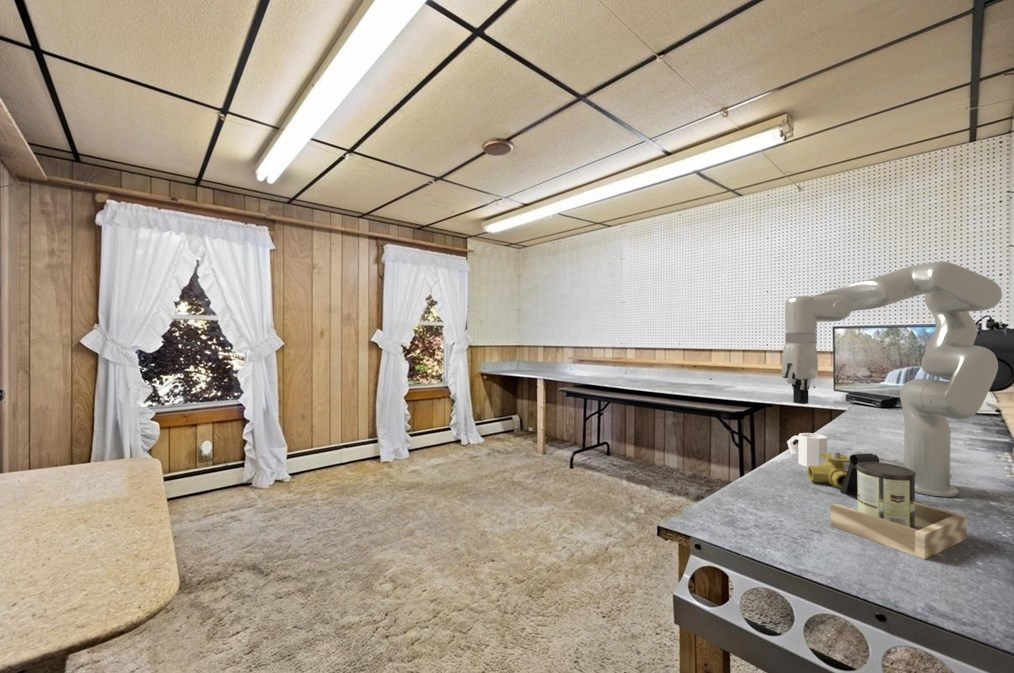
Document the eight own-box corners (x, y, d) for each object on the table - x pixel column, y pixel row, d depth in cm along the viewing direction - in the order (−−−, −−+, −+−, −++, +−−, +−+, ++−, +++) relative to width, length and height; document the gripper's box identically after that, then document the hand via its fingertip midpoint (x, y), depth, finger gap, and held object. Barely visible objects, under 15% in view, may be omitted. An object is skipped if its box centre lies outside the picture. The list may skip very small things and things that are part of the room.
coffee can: (881, 517, 107) (881, 460, 107) (928, 537, 97) (928, 473, 96) (845, 520, 105) (845, 462, 105) (889, 541, 95) (889, 476, 95)
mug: (832, 465, 148) (832, 436, 147) (820, 469, 143) (820, 440, 143) (793, 456, 158) (793, 429, 158) (781, 460, 153) (781, 433, 153)
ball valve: (859, 493, 123) (859, 458, 123) (817, 489, 126) (817, 455, 126) (840, 478, 135) (840, 446, 135) (802, 475, 138) (802, 444, 138)
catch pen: (874, 510, 111) (874, 490, 111) (966, 538, 95) (966, 516, 95) (830, 525, 103) (830, 504, 102) (924, 559, 87) (924, 534, 87)
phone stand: (890, 504, 115) (890, 458, 115) (869, 505, 114) (869, 459, 114) (859, 491, 124) (859, 449, 124) (840, 492, 123) (840, 450, 123)
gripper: (802, 338, 131) (802, 399, 132) (771, 339, 125) (771, 403, 125) (830, 339, 125) (830, 403, 125) (798, 340, 118) (798, 407, 118)
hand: (800, 403), depth 125 cm, fingers closed
